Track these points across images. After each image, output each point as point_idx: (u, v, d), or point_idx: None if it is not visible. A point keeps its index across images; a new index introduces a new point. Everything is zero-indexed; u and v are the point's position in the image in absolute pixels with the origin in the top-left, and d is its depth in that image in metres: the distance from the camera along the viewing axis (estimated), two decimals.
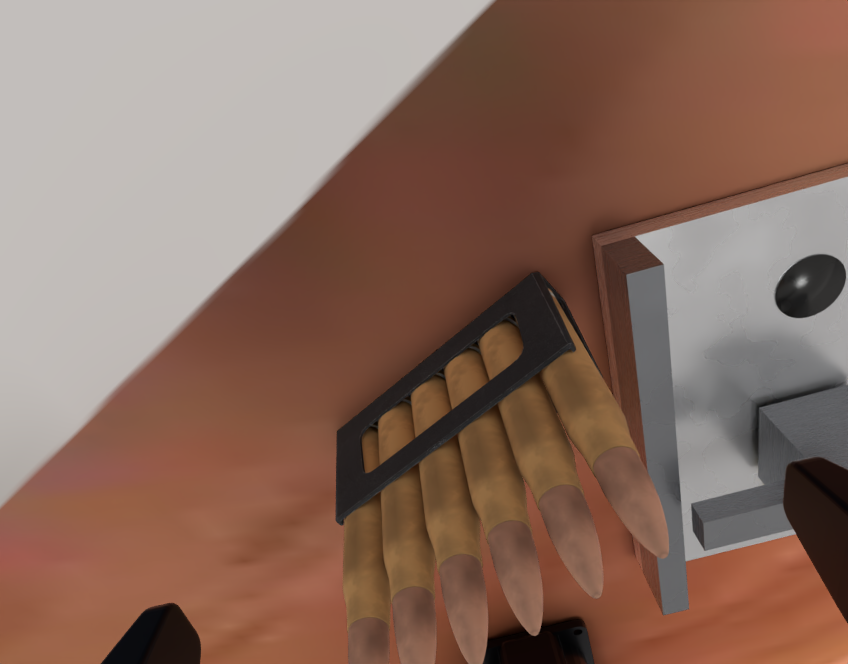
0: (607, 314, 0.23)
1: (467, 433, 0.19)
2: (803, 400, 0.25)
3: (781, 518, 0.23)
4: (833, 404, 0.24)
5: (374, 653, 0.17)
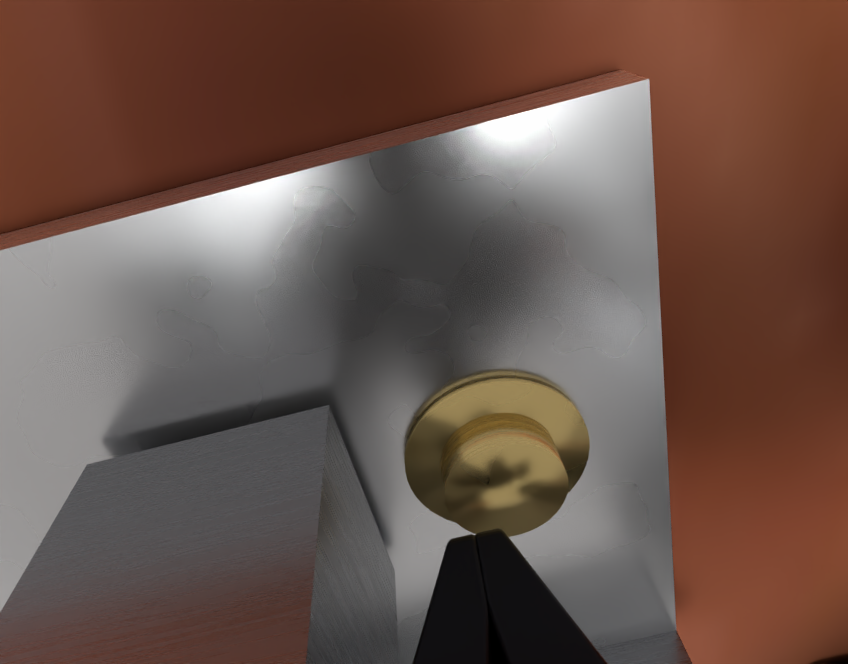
0: None
1: None
2: None
3: None
4: None
5: None
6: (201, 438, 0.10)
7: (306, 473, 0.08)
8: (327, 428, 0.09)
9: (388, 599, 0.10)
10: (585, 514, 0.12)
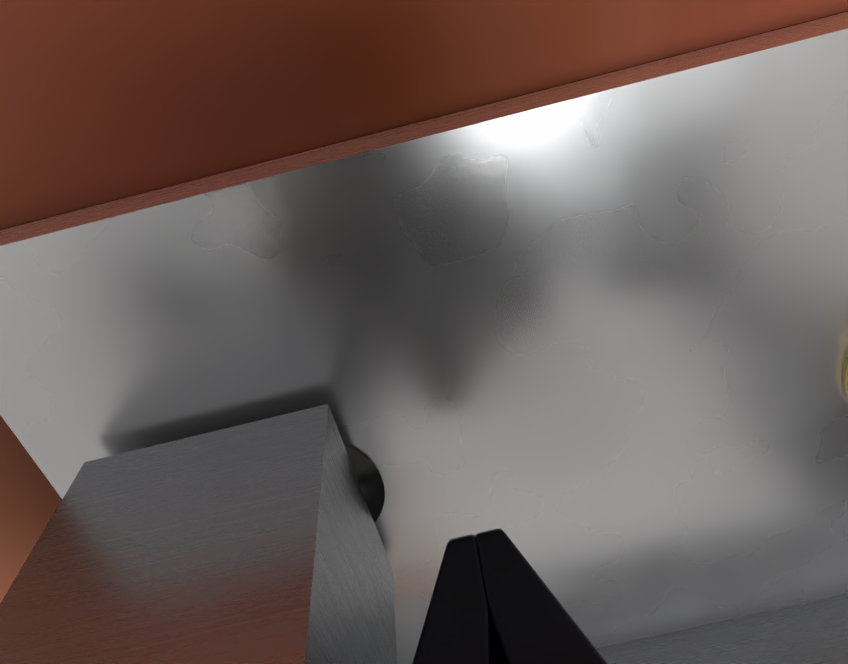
0: None
1: None
2: None
3: None
4: None
5: None
6: (200, 436, 0.10)
7: (305, 472, 0.08)
8: (327, 426, 0.09)
9: (386, 599, 0.10)
10: None
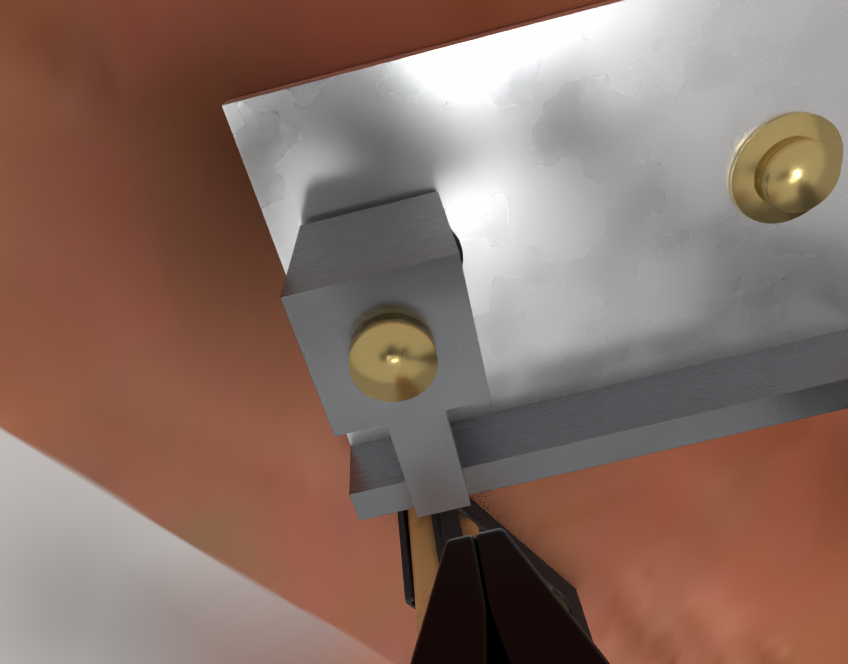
0: None
1: None
2: None
3: (421, 435, 0.17)
4: None
5: None
6: (366, 209, 0.17)
7: (434, 209, 0.16)
8: (439, 197, 0.17)
9: None
10: (823, 222, 0.19)
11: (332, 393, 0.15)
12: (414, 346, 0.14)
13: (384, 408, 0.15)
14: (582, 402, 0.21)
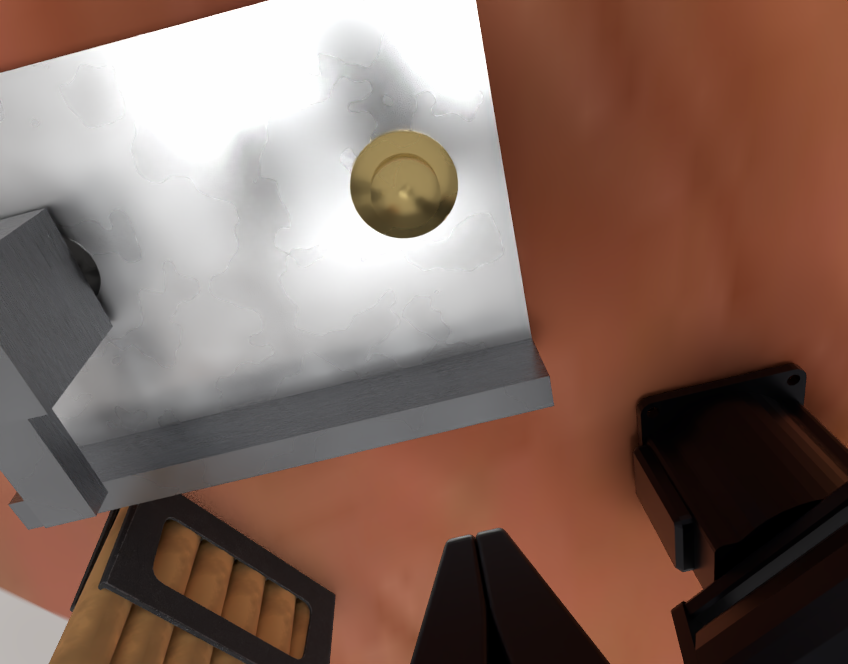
0: None
1: None
2: None
3: (16, 448, 0.17)
4: None
5: None
6: None
7: (12, 227, 0.16)
8: (37, 215, 0.17)
9: (91, 326, 0.18)
10: (462, 236, 0.19)
11: None
12: None
13: None
14: (257, 413, 0.21)
